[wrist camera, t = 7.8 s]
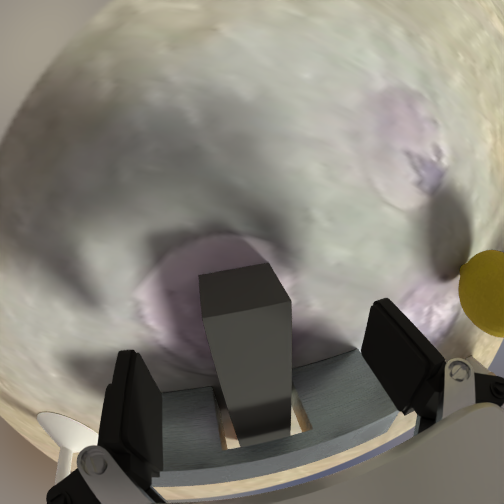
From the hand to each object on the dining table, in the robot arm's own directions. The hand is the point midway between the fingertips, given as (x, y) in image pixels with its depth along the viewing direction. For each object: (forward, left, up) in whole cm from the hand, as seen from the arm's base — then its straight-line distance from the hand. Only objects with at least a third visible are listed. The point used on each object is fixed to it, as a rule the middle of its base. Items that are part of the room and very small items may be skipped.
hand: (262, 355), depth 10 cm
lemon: (+2, +17, -4) cm, 17 cm away
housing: (+7, 0, -4) cm, 8 cm away
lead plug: (+6, 0, -4) cm, 7 cm away
